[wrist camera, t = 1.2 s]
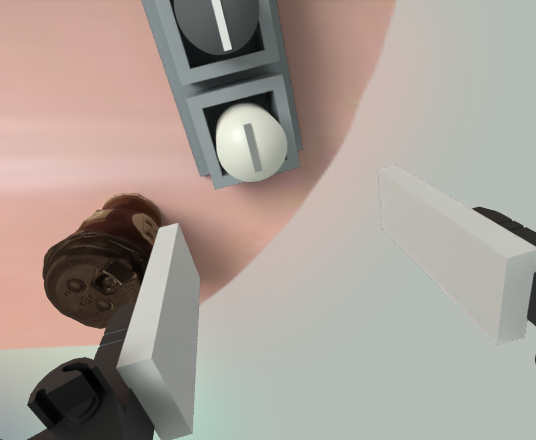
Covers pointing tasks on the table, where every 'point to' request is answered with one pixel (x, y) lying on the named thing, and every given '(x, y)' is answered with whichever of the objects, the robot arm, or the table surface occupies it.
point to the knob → (250, 142)
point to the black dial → (217, 23)
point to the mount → (226, 83)
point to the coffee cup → (102, 261)
